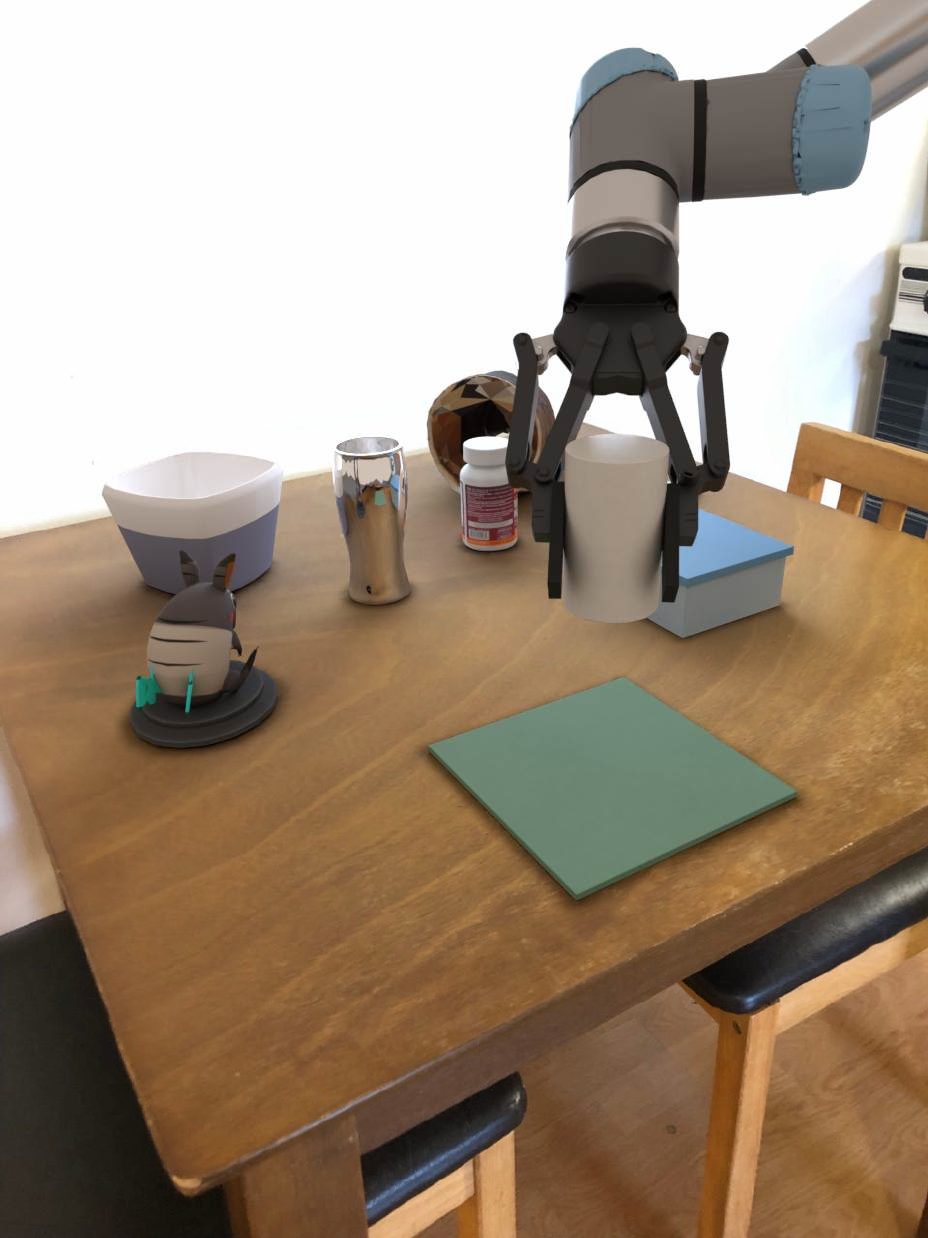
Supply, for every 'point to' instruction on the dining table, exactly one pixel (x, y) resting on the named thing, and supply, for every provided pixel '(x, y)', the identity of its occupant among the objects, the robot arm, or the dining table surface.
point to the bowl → (198, 515)
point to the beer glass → (373, 515)
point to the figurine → (199, 668)
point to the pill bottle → (487, 496)
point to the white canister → (613, 526)
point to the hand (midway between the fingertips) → (611, 592)
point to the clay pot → (479, 419)
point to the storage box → (723, 577)
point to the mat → (607, 783)
